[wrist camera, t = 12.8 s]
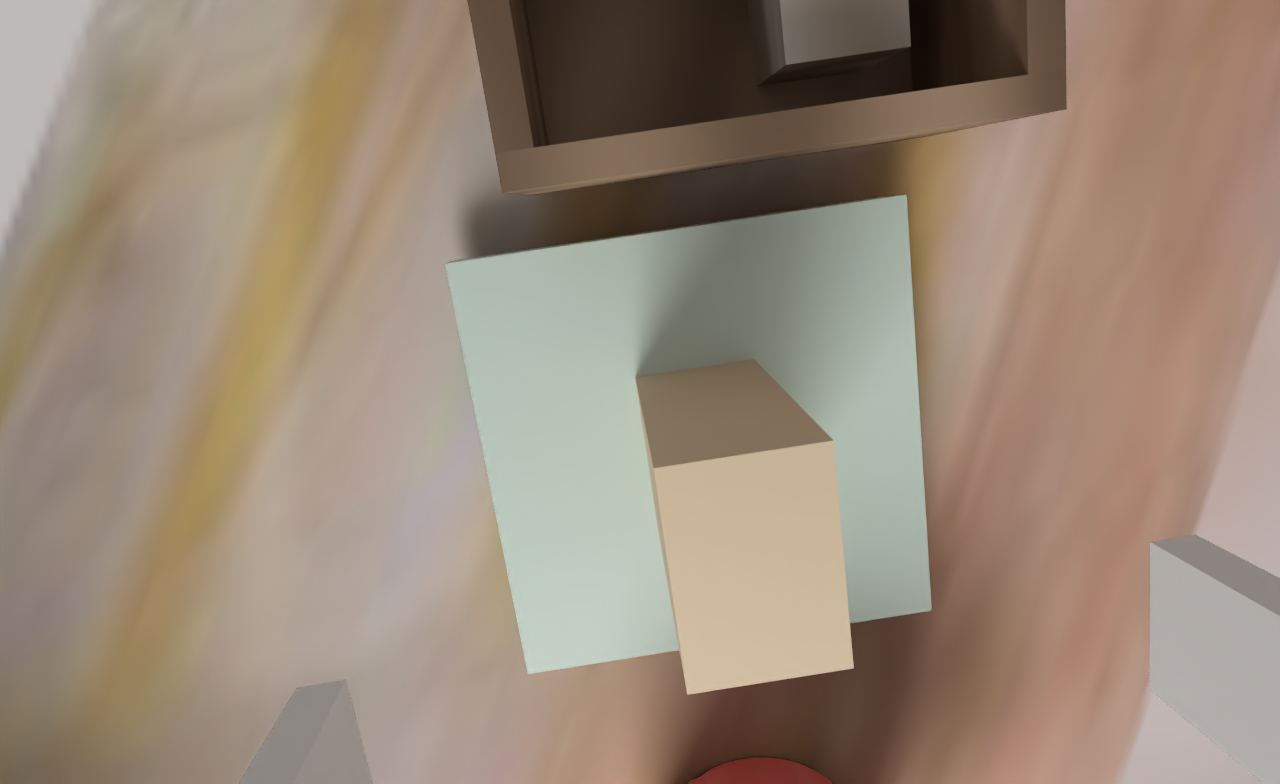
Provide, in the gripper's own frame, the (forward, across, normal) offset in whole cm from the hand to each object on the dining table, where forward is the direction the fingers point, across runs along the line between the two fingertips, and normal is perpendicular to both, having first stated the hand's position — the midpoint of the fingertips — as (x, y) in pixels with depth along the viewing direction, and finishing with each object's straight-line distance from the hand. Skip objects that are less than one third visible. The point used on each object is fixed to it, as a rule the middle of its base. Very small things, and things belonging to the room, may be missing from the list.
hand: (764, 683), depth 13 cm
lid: (+12, +1, 0) cm, 12 cm away
